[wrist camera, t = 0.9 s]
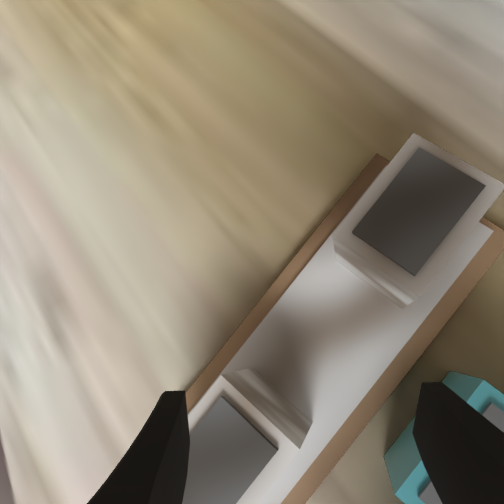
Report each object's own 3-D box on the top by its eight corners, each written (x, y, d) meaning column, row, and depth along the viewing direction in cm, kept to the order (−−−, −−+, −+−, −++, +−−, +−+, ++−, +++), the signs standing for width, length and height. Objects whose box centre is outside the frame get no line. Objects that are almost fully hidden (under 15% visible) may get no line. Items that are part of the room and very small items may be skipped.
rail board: (508, 239, 23) (578, 193, 16) (268, 546, 23) (231, 640, 15) (375, 159, 26) (385, 89, 19) (160, 430, 25) (86, 463, 18)
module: (527, 429, 21) (598, 463, 15) (457, 521, 21) (499, 592, 15) (450, 370, 22) (486, 380, 16) (383, 456, 22) (395, 497, 16)
